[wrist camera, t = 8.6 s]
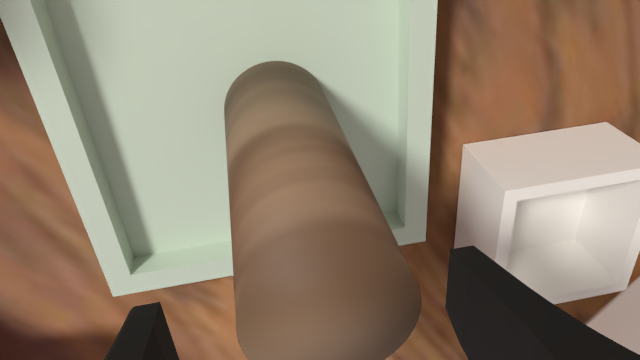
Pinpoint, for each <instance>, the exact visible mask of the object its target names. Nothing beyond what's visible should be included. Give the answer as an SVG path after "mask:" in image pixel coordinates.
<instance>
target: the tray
mask: <svg viewBox="0 0 640 360" xmlns="http://www.w3.org/2000/svg"><path fill="white" fill-rule="evenodd" d="M437 4H438V0H0V18H1V20H2V22H3V25H4V27H5V30H6V32H7V35H8V37H9V40H10V42H11V45H12V47H13V50H14V52H15V55H16V57H17V60H18V62H19V65H20V67H21V70H22V72H23V75H24V77H25V79H26V82H27V84H28V87H29V89H30V92H31V94H32V97H33V99H34V102H35V104H36V107H37V109H38V112H39V114H40V117H41V119H42V122H43V124H44V127H45V129H46V131H47V134H48V136H49V139H50V141H51V144H52V146H53V149H54V151H55V154H56V156H57V159H58V161H59V164H60V166H61V169H62V171H63V174H64V176H65V179H66V181H67V184H68V186H69V188H70V191H71V193H72V196H73V198H74V201H75V203H76V206H77V208H78V211H79V213H80V216H81V218H82V221H83V223H84V226H85V228H86V231H87V233H88V236H89V238H90V241H91V243H92V245H93V248H94V250H95V253H96V255H97V258H98V260H99V263H100V265H101V268H102V270H103V273H104V275H105V278H106V280H107V283H108V285H109V288H110V290H111V293H112V295H113V297H114V296H120V295H126V294H131V293H137V292H143V291H148V290H154V289H159V288H165V287H171V286H176V285H182V284H187V283H193V282H199V281H204V280H210V279H215V278H221V277H227V276H232V275H233V259H232V242H231V224H230V207H229V189H228V172H227V154H226V137H225V119H224V104H225V98H226V95H227V92H228V90H229V88H230V86H231V85H232V83H233V82H234V81H235V79H236V78H237V77H238V76H239V75H240V74H242V73H243V72H244V71H246V70H247V69H248V68H250V67H252V66H254V65H257V64H260V63H263V62H268V61H285V62H290V63H293V64H296V65H298V66H301V67H302V68H304V69H306V70H307V71H308V72H310V73H311V74H312V75H313V76H314V77H315V78H316V80H317V81H318V82H319V84H320V86H321V88H322V90H323V92H324V94H325V96H326V98H327V100H328V102H329V104H330V106H331V108H332V110H333V112H334V114H335V116H336V118H337V120H338V123H339V125H340V127H341V129H342V131H343V133H344V135H345V137H346V139H347V141H348V143H349V145H350V147H351V149H352V151H353V153H354V155H355V157H356V159H357V161H358V163H359V165H360V167H361V169H362V172H363V174H364V176H365V178H366V180H367V182H368V184H369V186H370V188H371V190H372V192H373V194H374V196H375V198H376V200H377V202H378V204H379V206H380V208H381V210H382V212H383V214H384V216H385V219H386V221H387V223H388V225H389V227H390V229H391V231H392V233H393V235H394V237H395V239H396V241H397V243H398V245H399V246H400V245H406V244H411V243H417V242H423V241H426V223H427V203H428V183H429V163H430V144H431V124H432V104H433V84H434V64H435V44H436V24H437Z"/></svg>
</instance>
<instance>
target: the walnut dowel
mask: <svg viewBox="0 0 640 360" xmlns="http://www.w3.org/2000/svg"><path fill="white" fill-rule="evenodd" d="M224 119H225V137H226V154H227V172H228V189H229V207H230V224H231V242H232V259H233V277H234V294H235V312H236V329H237V337H238V342H239V344H240V347H241V349H242V351H243V353H244V354H245V356H246V357H247V358H248V359H249V360H385V359H386V358H387V357H389V356H390V355H391V354H392V353H394V352H395V351H396V350H397V349H398V348H399V347H400V346H401V345H402V344H403V343H404V342H405V341H406V339H407V338H408V337H409V335H410V334H411V332H412V331H413V329H414V327H415V325H416V323H417V320H418V318H419V314H420V309H421V293H420V290H419V286H418V284H417V282H416V280H415V278H414V276H413V274H412V272H411V270H410V268H409V265H408V263H407V261H406V259H405V257H404V255H403V253H402V251H401V249H400V247H399V245H398V243H397V241H396V239H395V237H394V235H393V233H392V231H391V229H390V227H389V225H388V223H387V221H386V219H385V216H384V214H383V212H382V210H381V208H380V206H379V204H378V202H377V200H376V198H375V196H374V194H373V192H372V190H371V188H370V186H369V184H368V182H367V180H366V178H365V176H364V174H363V172H362V169H361V167H360V165H359V163H358V161H357V159H356V157H355V155H354V153H353V151H352V149H351V147H350V145H349V143H348V141H347V139H346V137H345V135H344V133H343V131H342V129H341V127H340V125H339V123H338V120H337V118H336V116H335V114H334V112H333V110H332V108H331V106H330V104H329V102H328V100H327V98H326V96H325V94H324V92H323V90H322V88H321V86H320V84H319V82H318V81H317V80H316V78H315V77H314V76H313V75H312V74H311V73H310V72H308V71H307V70H306V69H304V68H302V67H301V66H298V65H296V64H293V63H290V62H285V61H268V62H263V63H260V64H257V65H254V66H252V67H250V68H248V69H247V70H246V71H244V72H243V73H242V74H240V75H239V76H238V77H237V78H236V79H235V81H234V82H233V83H232V85H231V86H230V88H229V90H228V92H227V95H226V98H225V104H224Z"/></svg>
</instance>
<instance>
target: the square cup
mask: <svg viewBox="0 0 640 360" xmlns="http://www.w3.org/2000/svg"><path fill="white" fill-rule="evenodd" d="M472 245H474V246H475V247H476V248H478V249H479V250H480V251H482V252H483V253H484V254H486V255H487V256H488V257H490V258H491V259H492V260H493V261H495V262H496V263H497V264H499V265H500V266H501V267H503V268H504V269H505V270H507V271H508V272H509V273H511V274H512V275H513V276H515V277H516V278H517V279H519V280H520V281H521V282H523V283H524V284H525V285H527V286H528V287H530V288H531V289H532V290H534V291H535V292H537V293H538V294H539V295H541V296H542V297H544V298H545V299H547V300H548V301H549V302H551V303H552V304H559V303H564V302H569V301H574V300H579V299H584V298H589V297H594V296H599V295H604V294H609V293H614V292H619V291H624V290H626V288H627V286H628V283H629V280H630V277H631V274H632V271H633V268H634V265H635V262H636V259H637V256H638V254H639V251H640V144H639V143H638V142H636V141H635V140H633V139H632V138H630V137H629V136H627V135H626V134H624V133H623V132H621V131H620V130H618V129H616V128H615V127H613V126H612V125H610V124H609V123H607V122H603V123H597V124H591V125H584V126H578V127H571V128H565V129H559V130H552V131H546V132H540V133H533V134H527V135H521V136H514V137H508V138H502V139H495V140H489V141H482V142H476V143H470V144H463V152H462V163H461V175H460V186H459V197H458V208H457V219H456V230H455V242H454V249H455V248H461V247H466V246H472Z"/></svg>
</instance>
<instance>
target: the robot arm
mask: <svg viewBox="0 0 640 360" xmlns="http://www.w3.org/2000/svg"><path fill="white" fill-rule="evenodd" d="M446 310H447V312H448V315H449V318H450V320H451V323H452V325H453V328H454V330H455V332H456V335H457V337H458V340H459V342H460V344H461V346H462V348H463V350H464V352H465V353H466V355H467V357H468V359H469V360H640V355H639V354H636V353H635V352H632V351H631V350H629V349H627V348H625V347H623V346H622V345H620V344H618V343H616V342H614V341H613V340H611V339H609V338H607V337H605V336H604V335H602V334H600V333H598V332H596V331H595V330H593V329H591V328H590V327H588V326H586V325H585V324H583V323H582V322H580V321H579V320H577V319H575V318H574V317H572V316H571V315H569V314H568V313H566V312H564V311H563V310H561V309H560V308H558V307H557V306H555V305H554V304H552V303H551V302H549V301H548V300H547V299H545V298H544V297H542V296H541V295H539V294H538V293H537V292H535V291H534V290H532V289H531V288H530V287H528V286H527V285H525V284H524V283H523V282H521V281H520V280H519V279H517V278H516V277H515V276H513V275H512V274H511V273H509V272H508V271H507V270H505V269H504V268H503V267H501V266H500V265H499V264H497V263H496V262H495V261H493V260H492V259H491V258H490V257H488V256H487V255H486V254H484V253H483V252H482V251H480V250H479V249H478V248H476V247H475V246H474V245H472V246H466V247H461V248H455V249H450V259H449V271H448V283H447V295H446ZM104 360H179V358H178V355H177V352H176V349H175V346H174V343H173V340H172V337H171V334H170V331H169V328H168V325H167V322H166V319H165V316H164V313H163V310H162V307H161V304H160V302H157V303H152V304H146V305H141V306H135V307H133V308H132V309H131V311H130V312H129V314H128V316H127V318H126V320H125V322H124V324H123V326H122V328H121V330H120V332H119V334H118V335H117V337H116V339H115V341H114V343H113V345H112V347H111V348H110V350H109V352H108V354H107V356H106V358H105V359H104Z"/></svg>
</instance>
